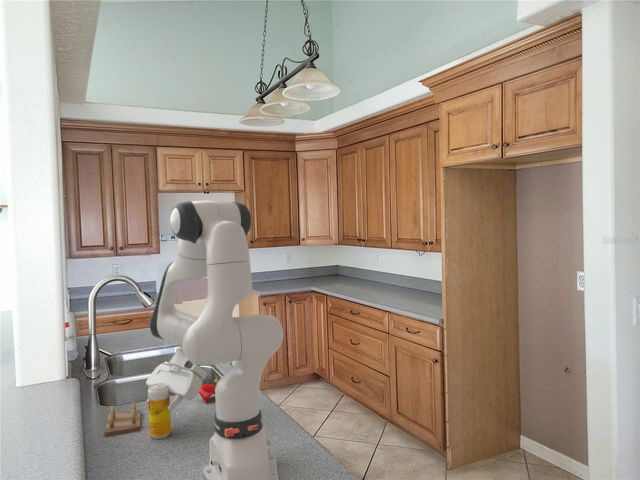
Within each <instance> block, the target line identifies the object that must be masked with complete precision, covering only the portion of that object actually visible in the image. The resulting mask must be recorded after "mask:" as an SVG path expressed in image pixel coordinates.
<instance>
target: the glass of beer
mask: <svg viewBox="0 0 640 480" xmlns="http://www.w3.org/2000/svg"><path fill="white" fill-rule="evenodd" d="M147 399H148V403H147V404H148V421H149V422H148V423H149V436H151V438H152V439H155V440H161V439H165V438H167V437H169V435H170V433H171V432H172V419H171V411H169V410H167V409H166V406H167V404H168V403H171V400H170V399H171V397H170V394H169V387H168V385H167V384H166V383H157V384H153V385H151V386H150V387H148V390H147Z"/></svg>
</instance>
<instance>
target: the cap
mask: <svg viewBox="0 0 640 480" xmlns="http://www.w3.org/2000/svg"><path fill="white" fill-rule="evenodd" d="M215 388H216V386H215V385H214V384H210V383H205V384H202V385H201V387H200V389H199V391H198V393H199V396H200V397H201V398H202V400H203V401H204V402H205V403H206V404H208V403H209V400H208V398H209V399H210V397H212V396H213V395H215Z"/></svg>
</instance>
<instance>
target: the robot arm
mask: <svg viewBox="0 0 640 480" xmlns="http://www.w3.org/2000/svg"><path fill="white" fill-rule="evenodd" d="M169 223H170V228H171V231H172V233H173V235H175V237H177V238H178V242H177V248H176V249H177V251H176V255H175V259H174V261H172V262H169V264H168V265H167V266H166V268H165V270H164V272H163V276H162V278H161V282H160V286H159V287H160V288H159V291H158V294H157V299H156V304H155V306H154V310H153V312H152V314H151V316H150V319H149V325H148V326H149V329H150V332H151V334H152V336H153V337H154V338H157V339H160V340H165V341H168V342H171V343H173V344H176V345H180V346H179V347H178V348H177V349H176V350H175V353H174V354H173V356H172V357H171V359H170V360H169V361H164V362H162V363H160V364H159V365H157V366H156V367H155V368H154V370H153V371H152V373H150V375H149V377H148V378H146V381H145V385H146V386H147V387H148V388H149V387H150V386H151V385H153V384H157V383H166V384H167V385H168V387H169V396H170V395H171V396H174V398H173V400H172V401H170V403H168V404H167V406H166V409H167V410H169V411H170V412H173V411H174V409H175V408H176V407H177V406H178V405H179V404H181V403H182V401H183V400H188V401H192V400H193V399H195V397H196V396H197V394H198V393H199V392H198V391H199V389H200V387H201V386H202V385H203V382H204V381H203V380H205V379H206V378H207V376H208V372H206V371H205V370H204V369H203V368H202V367H201V366H215V365H220V364H225V363H231V362H234V364H233V366H232V368H231V369H230V370H229V371H228V372H227V373H225V374H224V375H223V376H221V378H220V379H219V380H218V382H217V383H216V386H215V387H216V388H215V394H214V397H215V414H214V421H213V422H214V424H213V425H214V430H215V431H214V434H213V435H212V436H211V438H209V465H207V466H206V467H204V468H203V469H202V475H203V476H204V477H205V479H206V480H279V472H278V464H277V462H278V461H277V456H276V454H275V449H274V448H272V449H268V445H271V443H272V442H271V438H270V437H268V436H267V428H266V427H264V426H263V415H262V410H261V409H260V385H261V378H262V374H263V372H264V369H265V368H266V366H267V363H268V362H269V360H270V359H271V358H272V357H273V355H274V354H275V353H276V352H278V350H279V349H280V348H281V346H282V343H283V340H284V329H283V326H282V324H281V322H280V320H279V319H278V318H277V317H276V316H274V315H270V314H257V313H256V314H248V315H241V316H233V313H234V309H235V307H236V306H237V305H238V304H240V303H242V302H243V301H245V300H246V299H247V298H248V297H249V296H250V294H251V293H252V291H253V281H252V269H251V258H250V257H251V256H250V250H249V249H250V248H249V244H248V240H247V235H248V233H249V232H250V230H251V227H252V213H251V212H250V209H249V208H248V207H247V205H245V204H244V203H240V202H238V201H232V202H229V201H220V200H214V199H213V200H212V199H205V200H194V201H191V200H185V201H180V202H178V203H176V204H175V205H174V206H173V208H172V209H171V213H170V222H169ZM206 278H207V294H206V296H207V297H206V300H205V301H206V302H205V305H204V307H203V310H202V312H201V313H200V315H199V316H195V315H192V314H188V313H186V312H184V311H180V310H178V309H177V308H176V307H175V306H176V305H175V302H176V298H177V294H178V290H179V287H180V285H181V284H186V283H187V284H189V283H196V282H200V281H202V280H204V279H206ZM146 403H147V404H148V398H147V399H146Z"/></svg>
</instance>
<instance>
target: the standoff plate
mask: <svg viewBox="0 0 640 480" xmlns="http://www.w3.org/2000/svg"><path fill="white" fill-rule="evenodd" d="M141 411H142V410H141V409H137V402H131V410H130V411H125V412H120V413H118V412H117V413H116V406H115V405H110V413H109V414H108V415H107V419H106V423H105V428H104V437H110V436H116V435H122V434H127V433H134V432H138V431H141V421H142V420H141V419H142V418H141V416H142V412H141Z"/></svg>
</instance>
